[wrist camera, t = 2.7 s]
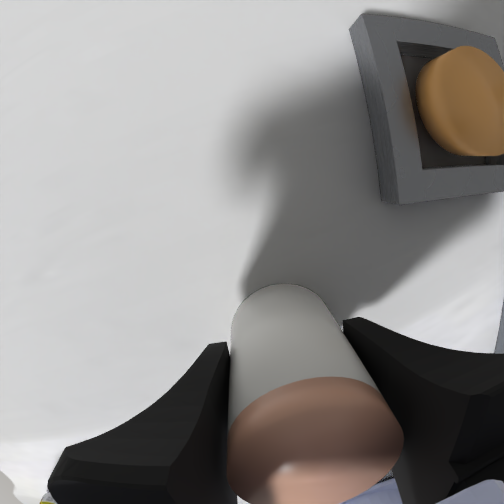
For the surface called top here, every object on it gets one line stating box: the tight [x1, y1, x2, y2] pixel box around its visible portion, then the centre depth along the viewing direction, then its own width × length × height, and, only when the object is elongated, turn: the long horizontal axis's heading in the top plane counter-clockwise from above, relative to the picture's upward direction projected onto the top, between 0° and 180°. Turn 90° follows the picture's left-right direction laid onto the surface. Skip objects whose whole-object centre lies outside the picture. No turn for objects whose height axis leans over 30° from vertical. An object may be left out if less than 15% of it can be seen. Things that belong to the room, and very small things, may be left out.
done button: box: [415, 46, 504, 156], centre depth 9 cm, size 4×4×2 cm
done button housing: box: [349, 14, 504, 205], centre depth 10 cm, size 7×7×2 cm
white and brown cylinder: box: [227, 284, 404, 504], centre depth 9 cm, size 4×4×7 cm
